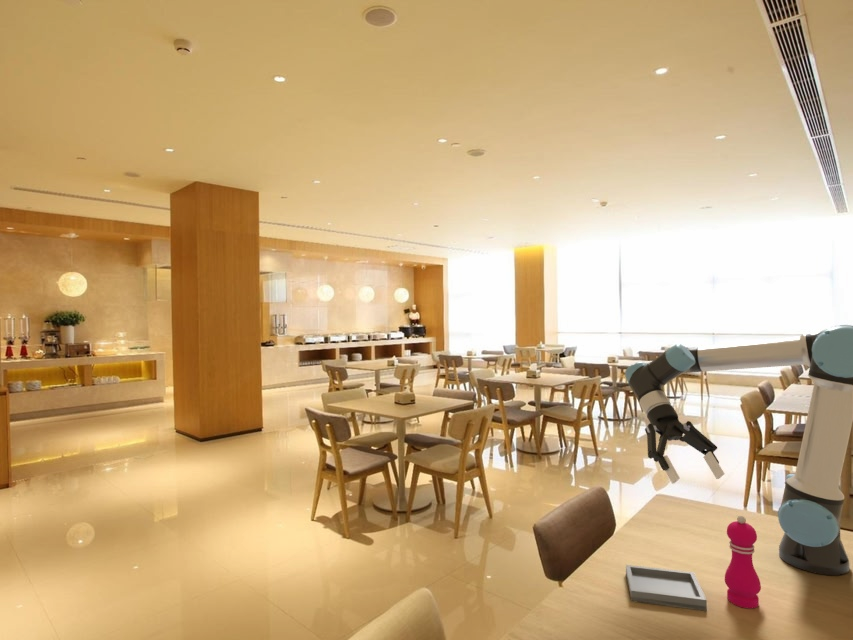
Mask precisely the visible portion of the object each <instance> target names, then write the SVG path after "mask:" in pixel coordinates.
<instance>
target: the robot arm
mask: <svg viewBox="0 0 853 640" xmlns="http://www.w3.org/2000/svg"><path fill="white" fill-rule="evenodd" d="M803 365H804V366H806V367H808V368H809V369H808V370H809V371H808V373H807V376H808V378H809V379H810V380H811V382H813V388H812V391H811V396H810V397H811V398H810V401H809V402H810V403H809V407H808V412H807V417H806V420H805V424H804V425H805V426H804V431H803V436H802V440H801V446H800V450H799V453H798V454H799V455H798V458H797V459H798V460H797V464H796V468H795V469H796V470H795V473H789V474H787V475H786V476H785V482H784V490H783V494H782V499H781V503H780V507H779V508H778V510H777V518H778V523H779V526H780V528H781V529H782V531H783V532H784V533H783V535H782V538H781V541H780V543H779V545H778V546H779V547H778V555H779V558H780V559H781V560H782V561H784V562H785V563H787V564H789V565H791V566H792V567H794V568H797V569H799V570H802V571H805V572H809V573H814V574H818V575H826V576H841V575H840V574H843V575H846V574H848V573H849V572H850V560H849V556H848V555H847V551H846V550H845V546H844V544H843V542H842V540H841V515H842V510H843V506H844V501H845V495H844V493H843V491H841V489H840V481H841V475H842V472H843V468H844V462H845V458H846V453H847V449H848V446H849V445H848V444H849V441H850V435H851V430H852V426H853V325H851V324H850V325H848V324H841V325H834V326H831V327H828V328H825V329H820V330H816V331H807V332H805V331H804V332H803V333H802V334H801V335H800V336H794V337H785V338H776V339H766V340H765V339H764V340H755V341H746V342H745V341H744V342H735V343H725V344H715V345H705V346H697V347H696V346H694V347H686V346H685V345H684V344H682V343H676V344H674V345H672V346H671V347H669V348H668V349H666V350H665V351H664V352H662V353H661V354H660V355H659V356H658V357H656V358H655V359H653V360H652V361H650V362H649V363H647V362H643V361H638V362H635V363H634V364H630V365H629V366H628V367H627V368H626V369H625V371H624V376H625V379H626V381H627V383H628V386H629V388H630V389H631V390H632V393H633V394H634V396H635V398H636V399H637V401H638V403H639V405H640V407H641V409H642V410H643V412H644V414H645V415H646V418H647V419H648V422H649V423H648V425H646V427H645V428H644V431H645V433H646V438H647V439H646V441H647V443H646V444H647V458H649V460H651V459H653V461H654V462H655V463H657V462H658V464H659V465H660V468H661V469H662V471H665V473H666V475H667V477H668V479H669V480H670V482H671V484H676V482H677V481H679V480H680V476H679V474H678V473H677V471H676V469H675V467H674V464H673V463H672V462H671V459H670V458H669V456H668V455H664V454H665V451H666V448H667V443H668V442H669V441H671V442H672V441H680V442H683V443H686V444H687V445H688V446H690V447H692V448H693V449H695V450H697V451H698V452H699V453H701V454H702V455H704V456H703V459H704V461H705V462H706V464H707V466H708V468H709V469H710V470H711V472H712V474H713V476H714V477H715V479H716V480H719V479H721V478H722V477H723V476H724V475H725V471H724V470H723V468H722V467H721V466H720V461H719V460H718V458H717V456H716V454H715V451H716V450H718V446H717V445H716V444H715V443H713V442H712V441H711V440H710V439H708V437H707V436H706V435H704V434H703V433H702V432H701V431H699V429H697V428H696V427H695V426H694V425H693V423H692V422H691V421H689V420H687V421H686V422H685V423H682V422H681V421H680V420H679V414H678V413H677V411H676V410H675V408H674V406H673V405H672V403H671V401H670V399H669V398H668V397H667V395H666V393H665V392H664V390H663V388H662V387H664V386H665V385H667V384H668V383H669V382H671V381H673V380H675V379H677V377H679V376H681V375H684V374H688V373H702V372H713V371H714V372H715V371H728V370H729V371H730V370H731V371H732V370H743V369H744V370H745V369H759V368H760V369H761V368H771V367H772V368H774V367H776V368H777V367H791V366H803ZM656 433H657V434H658V435H659V438H658V445H657V436H656V435H657V434H656ZM845 573H846V574H845Z"/></svg>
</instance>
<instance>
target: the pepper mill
mask: <svg viewBox="0 0 853 640" xmlns="http://www.w3.org/2000/svg"><path fill="white" fill-rule="evenodd" d="M746 520H747V519H746V518H745V516H743V515H739V516H737V517H736V521H731V522H730V523H729V524H728V525H727V528H726V535H727V537H728V539H729V546H728V547H729V549H730V550H731V560H730V563H729V565H728V567H727V569H726V570H725V574H724V583H725V585H726V586H727V587H728V588H727V591H726V595H727V596H726V597H727V599H728V601H729V602H730V603H731V604H733V605H735V606H737V607H740V608H743V609H744V608H745V609H756V608H758V607H759V603H760V602H759V600H760V599H759V596H758V594H759V593H760V592H761V590H762V586H761V585H762V584H761V580H760V578H759V576H758V573H757V571H756V569H755V567H754V563H753V554H754V553H755V543H756V542H757V540H758V534H757V532H756V530H755V528H754V527H753V525H751V524H749V523H748V522H747V521H746Z"/></svg>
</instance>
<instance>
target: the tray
mask: <svg viewBox="0 0 853 640" xmlns="http://www.w3.org/2000/svg"><path fill="white" fill-rule="evenodd" d="M696 576H697V575H696V573H695V572H694V571H693V572H692V571H686V570H685V571H684V570H676V569H667V568H657V567H649V566H641V565H632V564H625V577H626V580H627V581H626V582H627V585H628V586H627V587H628V592H629V597H630V601H631V602H634V601H637V602H636V603H641V604H643V603H644V604H650V605H658V606H664V607H665V606H666V607H674V608H679V609H681V608H682V609H687V610H688V609H689V610H695V611H696V610H697V611H704V612H705V611H706V612H707V611H708V610H707V609H708V605H707V602H708V600H707V598H706V596H705V593H704V591H703V589H702V586H701V585H700V583H699V580H698V579H697V577H696Z"/></svg>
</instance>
